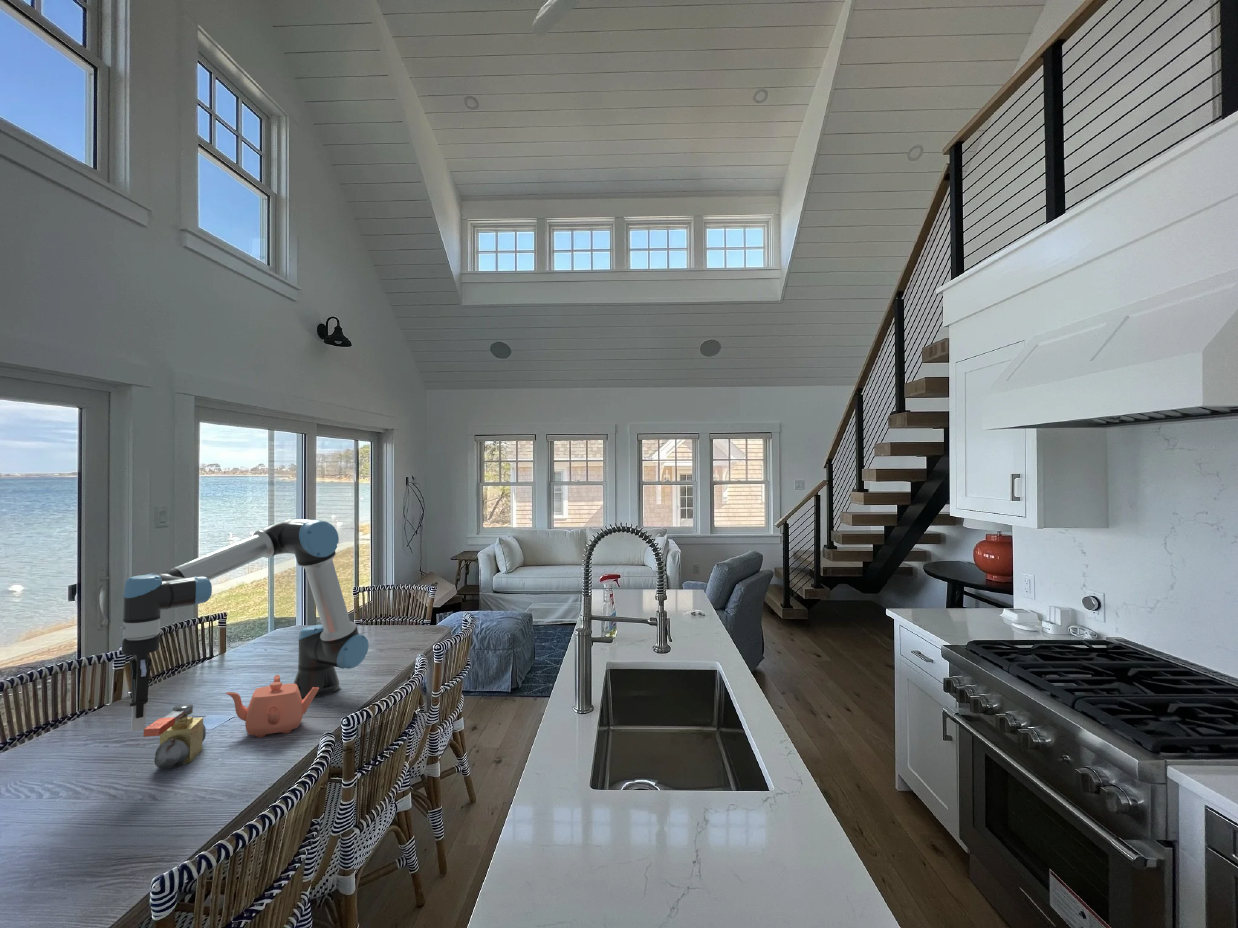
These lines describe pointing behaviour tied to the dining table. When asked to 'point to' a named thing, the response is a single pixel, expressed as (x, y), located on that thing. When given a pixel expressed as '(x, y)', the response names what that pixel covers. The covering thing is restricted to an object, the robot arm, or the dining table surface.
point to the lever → (168, 720)
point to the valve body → (180, 743)
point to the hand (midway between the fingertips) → (138, 728)
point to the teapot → (273, 708)
